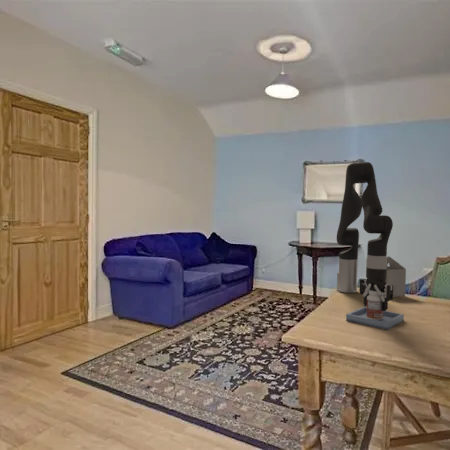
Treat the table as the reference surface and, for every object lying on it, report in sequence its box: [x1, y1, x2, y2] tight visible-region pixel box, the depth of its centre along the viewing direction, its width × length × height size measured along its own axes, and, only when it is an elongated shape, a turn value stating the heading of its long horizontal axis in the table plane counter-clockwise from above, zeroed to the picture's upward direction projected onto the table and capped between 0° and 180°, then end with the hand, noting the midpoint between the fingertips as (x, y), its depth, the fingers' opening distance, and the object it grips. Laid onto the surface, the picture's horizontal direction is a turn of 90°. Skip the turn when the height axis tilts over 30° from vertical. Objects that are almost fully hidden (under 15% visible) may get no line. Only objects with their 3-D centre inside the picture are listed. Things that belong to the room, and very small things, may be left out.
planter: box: [382, 255, 407, 298], centre depth 194 cm, size 16×8×19 cm, turn 59°
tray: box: [345, 306, 405, 331], centre depth 152 cm, size 16×16×2 cm
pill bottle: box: [366, 290, 383, 320], centre depth 152 cm, size 6×6×11 cm
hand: (375, 308), depth 151 cm, fingers open, 7 cm apart
